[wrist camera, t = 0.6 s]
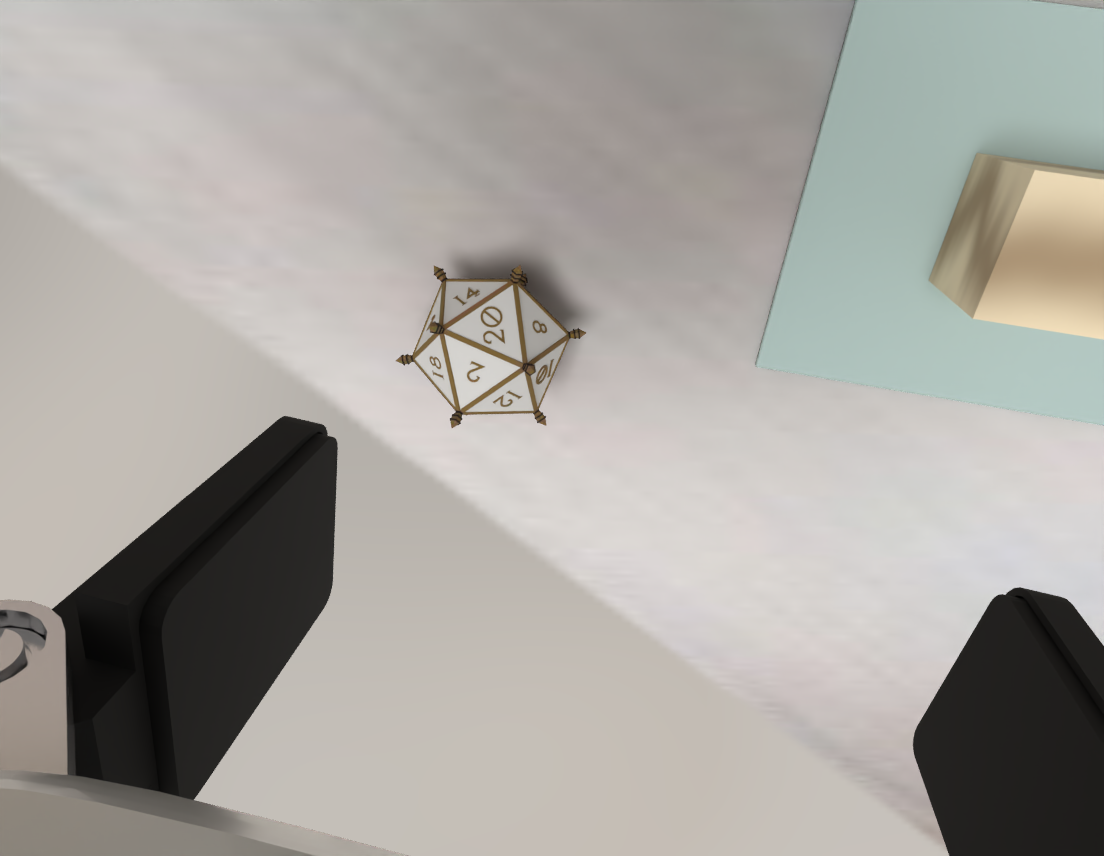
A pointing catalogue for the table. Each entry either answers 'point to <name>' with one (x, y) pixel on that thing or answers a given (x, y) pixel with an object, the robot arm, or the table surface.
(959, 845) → the robot arm
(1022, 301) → the block
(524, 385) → the game die
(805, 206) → the mat
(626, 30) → the table surface
